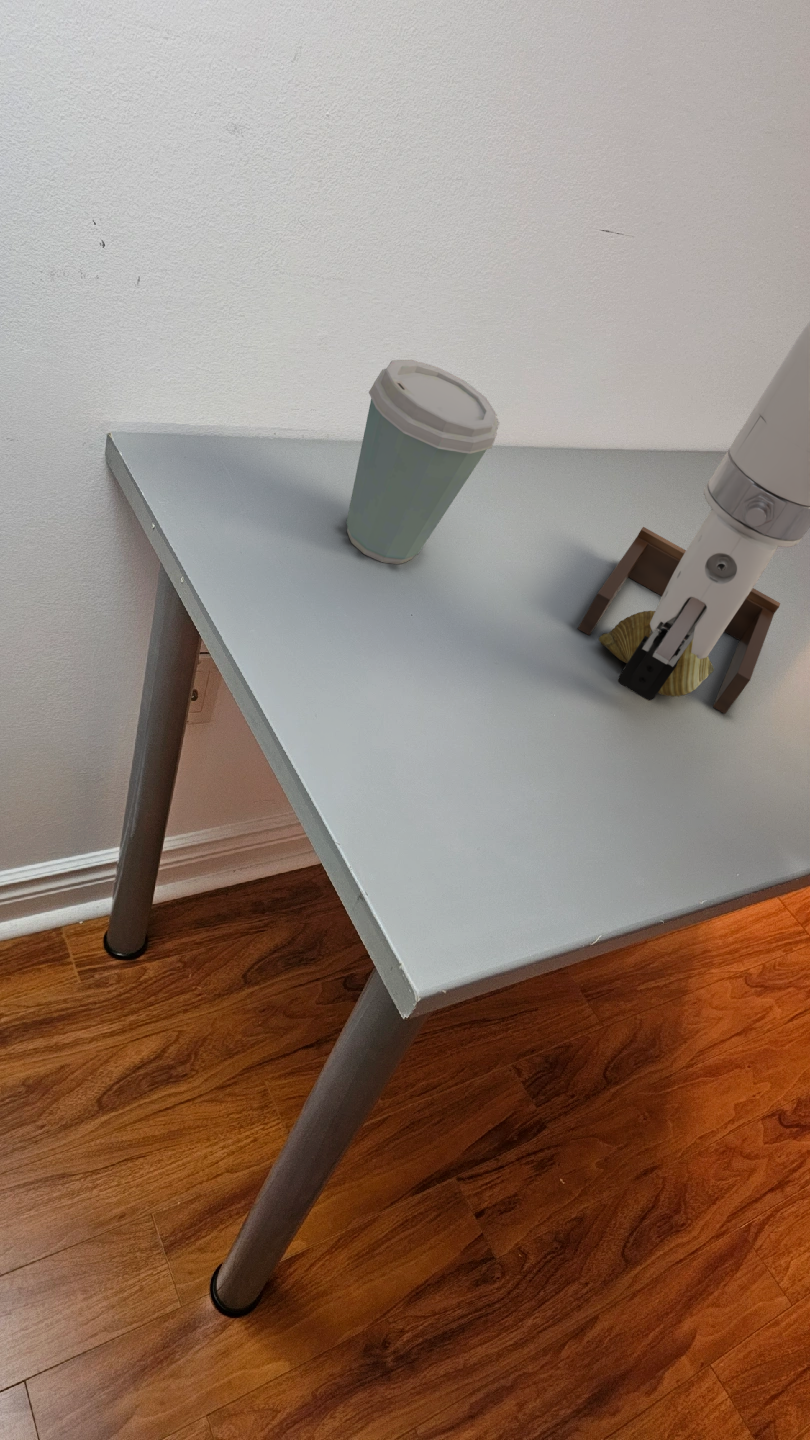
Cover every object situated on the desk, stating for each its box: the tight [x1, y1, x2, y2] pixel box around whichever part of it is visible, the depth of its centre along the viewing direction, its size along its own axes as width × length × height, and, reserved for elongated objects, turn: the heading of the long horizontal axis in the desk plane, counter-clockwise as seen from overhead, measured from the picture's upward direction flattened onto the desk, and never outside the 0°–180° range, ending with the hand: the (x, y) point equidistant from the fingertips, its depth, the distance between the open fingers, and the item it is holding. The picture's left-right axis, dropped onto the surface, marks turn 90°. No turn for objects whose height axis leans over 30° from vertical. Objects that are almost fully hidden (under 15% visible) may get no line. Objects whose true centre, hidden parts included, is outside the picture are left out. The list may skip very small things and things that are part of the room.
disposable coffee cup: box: [345, 359, 500, 565], centre depth 86 cm, size 11×11×15 cm
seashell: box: [598, 610, 715, 697], centre depth 89 cm, size 10×7×8 cm
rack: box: [577, 526, 781, 714], centre depth 94 cm, size 14×14×5 cm
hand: (636, 686), depth 85 cm, fingers closed
